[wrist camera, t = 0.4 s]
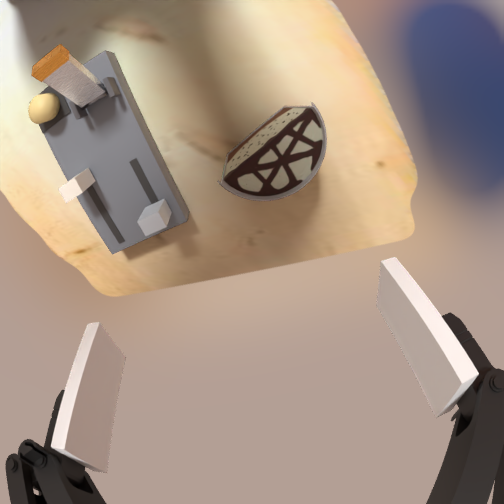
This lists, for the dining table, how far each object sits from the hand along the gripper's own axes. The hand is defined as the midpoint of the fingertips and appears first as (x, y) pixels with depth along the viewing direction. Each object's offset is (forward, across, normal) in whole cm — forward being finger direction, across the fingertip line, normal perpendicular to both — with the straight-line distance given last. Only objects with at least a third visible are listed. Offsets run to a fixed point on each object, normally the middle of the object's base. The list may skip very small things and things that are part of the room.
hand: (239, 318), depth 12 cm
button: (+24, -19, +15) cm, 34 cm away
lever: (+23, -12, +13) cm, 29 cm away
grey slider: (+24, -9, -3) cm, 26 cm away
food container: (+27, +6, 0) cm, 28 cm away
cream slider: (+24, -17, +4) cm, 30 cm away
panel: (+27, -14, +5) cm, 31 cm away
